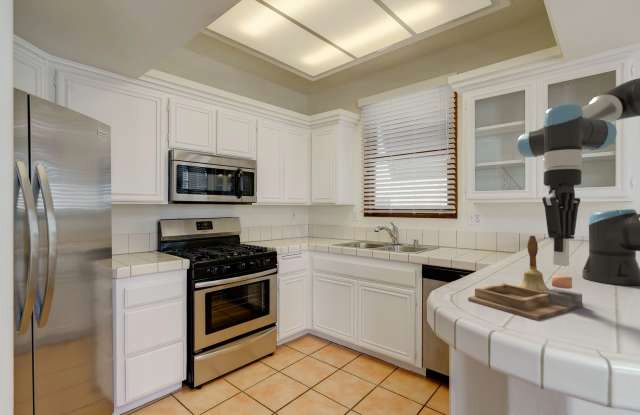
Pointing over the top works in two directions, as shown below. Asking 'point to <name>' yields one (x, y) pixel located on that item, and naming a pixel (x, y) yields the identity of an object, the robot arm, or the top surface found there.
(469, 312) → the top surface
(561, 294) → the station
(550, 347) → the top surface
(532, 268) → the hand bell
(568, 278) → the button
